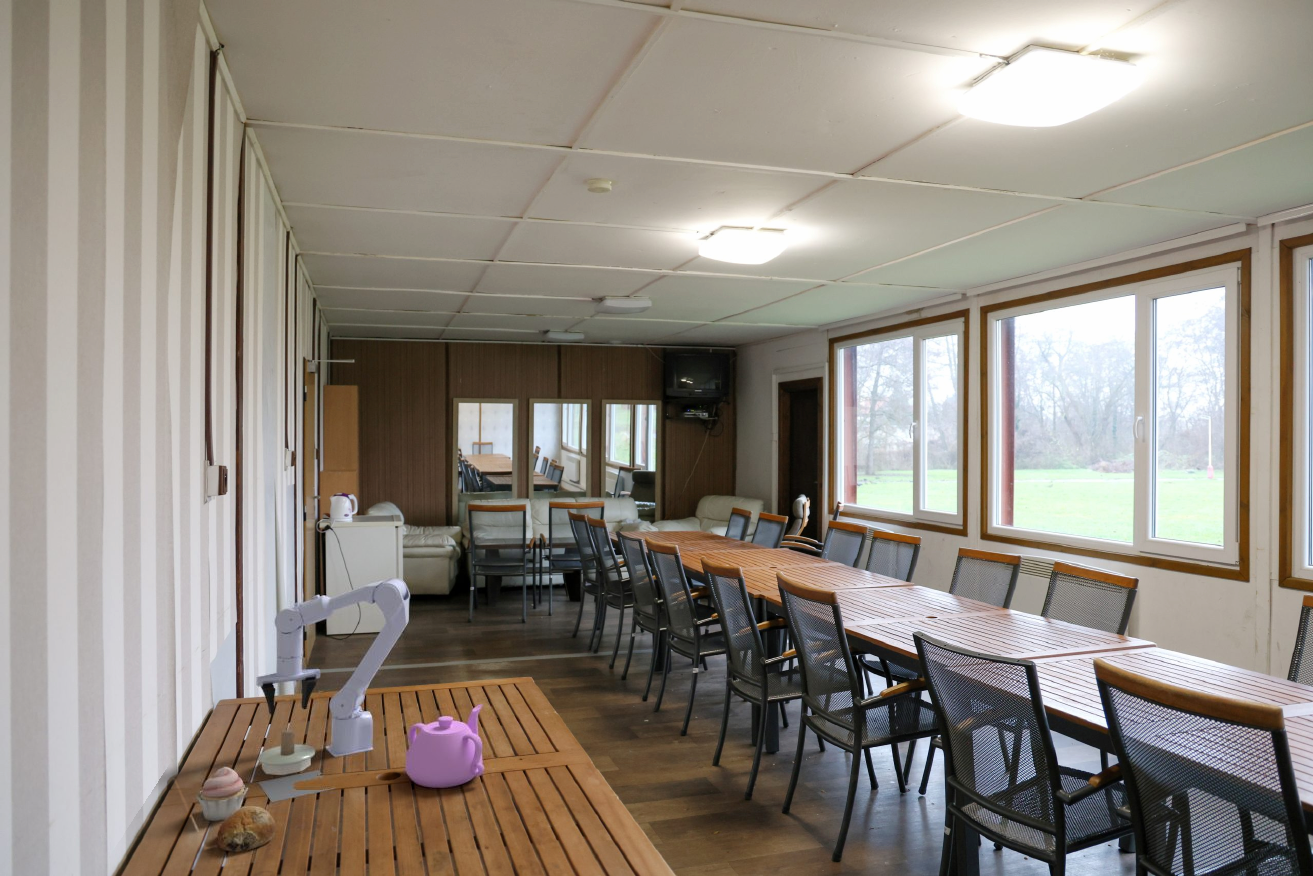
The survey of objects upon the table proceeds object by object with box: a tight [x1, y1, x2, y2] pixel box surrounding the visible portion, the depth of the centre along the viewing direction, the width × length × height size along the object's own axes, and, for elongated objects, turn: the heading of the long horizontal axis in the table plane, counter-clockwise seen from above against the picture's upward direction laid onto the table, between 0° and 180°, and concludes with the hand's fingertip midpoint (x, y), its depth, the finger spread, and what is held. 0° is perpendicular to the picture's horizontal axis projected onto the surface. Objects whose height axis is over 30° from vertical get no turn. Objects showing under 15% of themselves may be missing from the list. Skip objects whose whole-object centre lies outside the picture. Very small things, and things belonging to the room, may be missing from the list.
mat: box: [257, 769, 336, 803], centre depth 187 cm, size 13×13×1 cm
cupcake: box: [196, 766, 249, 822], centre depth 172 cm, size 9×9×10 cm
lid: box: [258, 729, 316, 765], centre depth 198 cm, size 12×12×6 cm
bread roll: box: [216, 805, 276, 853], centre depth 162 cm, size 10×10×8 cm
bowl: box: [261, 758, 312, 776], centre depth 198 cm, size 10×10×3 cm
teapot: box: [405, 704, 485, 789], centre depth 197 cm, size 22×22×14 cm
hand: (287, 710), depth 210 cm, fingers open, 7 cm apart
